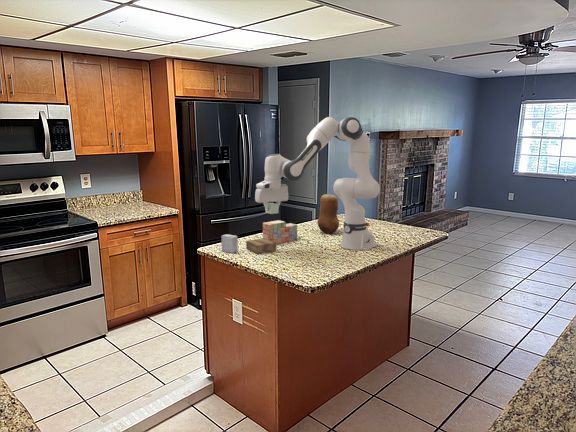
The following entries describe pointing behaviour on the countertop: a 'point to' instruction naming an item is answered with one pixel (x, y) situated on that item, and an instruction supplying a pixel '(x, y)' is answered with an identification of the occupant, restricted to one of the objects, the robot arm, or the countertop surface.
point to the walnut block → (261, 246)
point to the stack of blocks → (279, 231)
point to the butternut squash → (328, 214)
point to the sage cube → (273, 208)
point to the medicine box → (229, 243)
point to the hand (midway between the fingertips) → (271, 209)
